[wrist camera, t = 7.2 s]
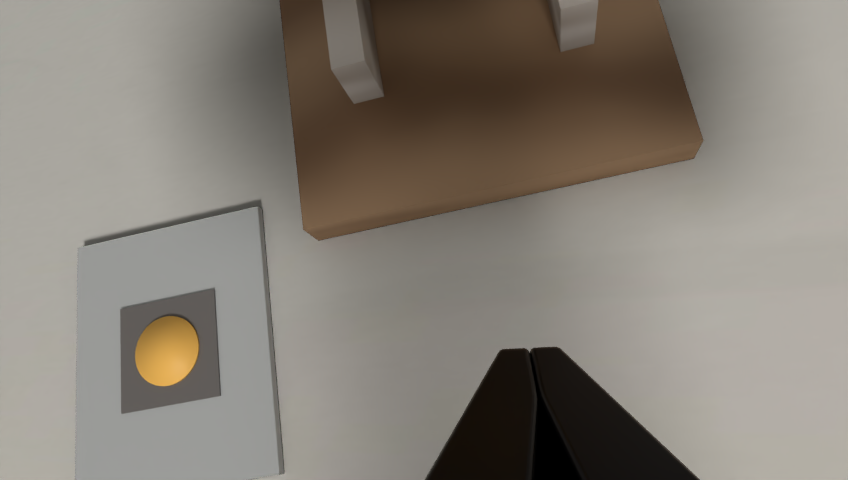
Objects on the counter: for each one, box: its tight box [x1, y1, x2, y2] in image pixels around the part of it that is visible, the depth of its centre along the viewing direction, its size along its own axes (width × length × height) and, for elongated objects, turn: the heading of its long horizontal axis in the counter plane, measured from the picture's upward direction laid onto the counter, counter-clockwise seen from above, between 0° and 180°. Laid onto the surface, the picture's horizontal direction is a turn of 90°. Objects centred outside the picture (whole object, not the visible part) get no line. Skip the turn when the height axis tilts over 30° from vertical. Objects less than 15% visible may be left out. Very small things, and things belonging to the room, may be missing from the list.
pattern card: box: [75, 206, 284, 480], centre depth 24 cm, size 10×8×1 cm
